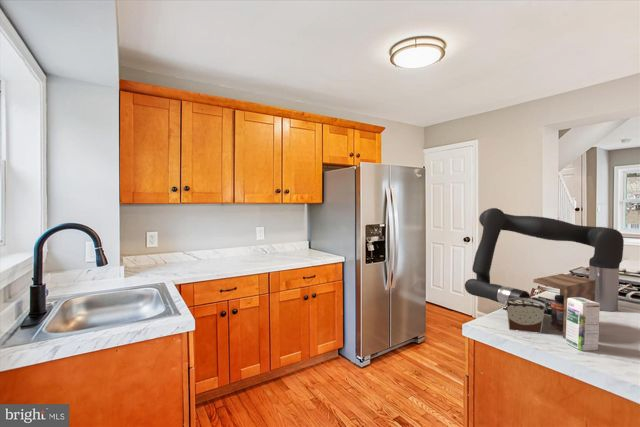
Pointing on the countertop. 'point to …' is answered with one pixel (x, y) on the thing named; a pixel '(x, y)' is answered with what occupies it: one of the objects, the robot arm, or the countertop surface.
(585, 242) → the robot arm
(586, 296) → the walnut cubby
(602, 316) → the countertop surface
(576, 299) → the syrup box
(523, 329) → the food container
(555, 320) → the supplement bottle
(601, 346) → the countertop surface
